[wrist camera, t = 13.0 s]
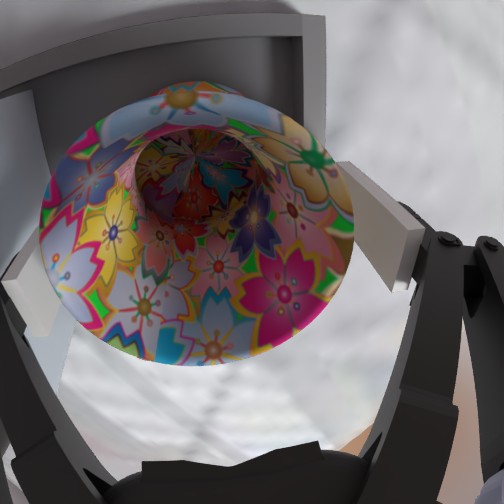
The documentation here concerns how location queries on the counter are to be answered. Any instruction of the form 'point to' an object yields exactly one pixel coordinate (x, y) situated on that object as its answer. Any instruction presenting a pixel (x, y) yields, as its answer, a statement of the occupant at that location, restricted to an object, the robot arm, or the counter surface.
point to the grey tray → (176, 70)
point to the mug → (196, 227)
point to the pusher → (28, 214)
